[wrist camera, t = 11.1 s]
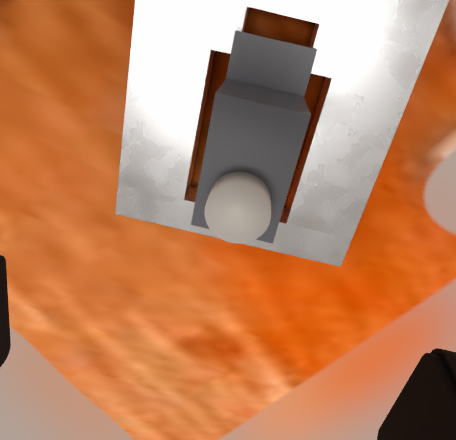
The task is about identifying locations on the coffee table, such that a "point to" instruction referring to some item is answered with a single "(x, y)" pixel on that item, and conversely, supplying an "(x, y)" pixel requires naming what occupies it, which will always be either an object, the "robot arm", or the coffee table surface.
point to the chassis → (320, 127)
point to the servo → (254, 139)
